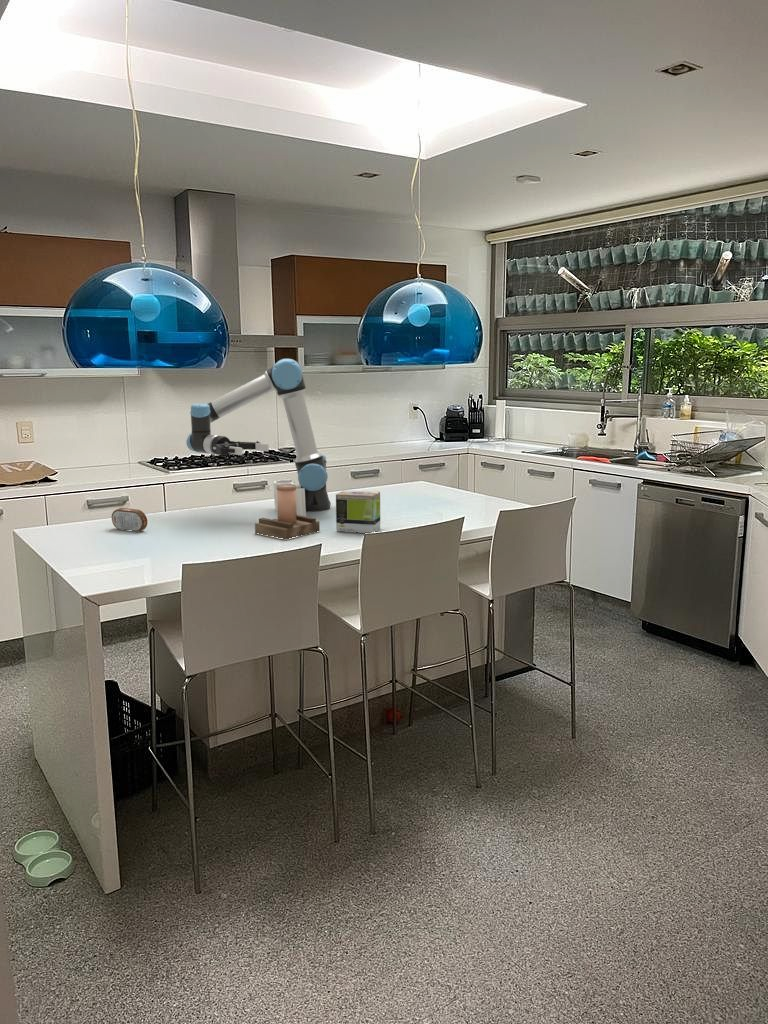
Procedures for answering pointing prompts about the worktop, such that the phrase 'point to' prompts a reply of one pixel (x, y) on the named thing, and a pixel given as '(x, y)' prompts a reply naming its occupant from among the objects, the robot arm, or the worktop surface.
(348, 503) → the tea box
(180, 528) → the worktop surface
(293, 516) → the terracotta canister
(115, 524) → the tin
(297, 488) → the bracket
